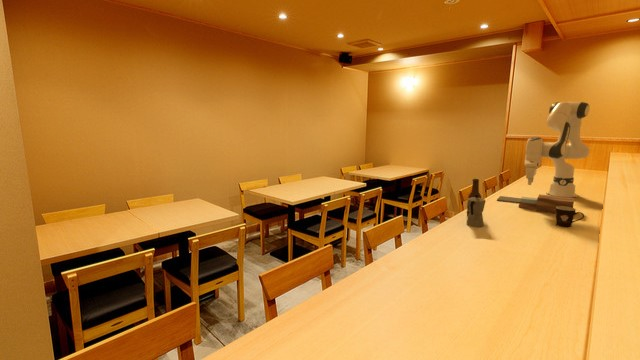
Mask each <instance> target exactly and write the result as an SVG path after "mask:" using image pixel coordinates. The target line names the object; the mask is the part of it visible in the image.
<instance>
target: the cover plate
mask: <svg viewBox="0 0 640 360" xmlns="http://www.w3.org/2000/svg"><path fill="white" fill-rule="evenodd" d="M537 198H538V197H527V196H521V202H524V203H532V204H537Z"/></svg>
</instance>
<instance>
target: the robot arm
mask: <svg viewBox="0 0 640 360" xmlns="http://www.w3.org/2000/svg"><path fill="white" fill-rule="evenodd" d="M548 114H549V115H548V117H547V119H546V125H547V127H548V128H550V129H551V130H553V131H556V132H558V133H559V134H558V137H557V141H555V142H552V141H551V142H546V141H544V140H543V139H542V137H539V136H535V137H529V138H528V139H527V141H526V145H525V156H524V163H523V164H524V167H525V177H526V179H527V185H530V186H532V183H533V182H534V179H535V178H534V177H535V176H536V174H537V169H539V167H540V166H541V165H542V164H541V163H542V158H549V159H550V160H551V161H552V163H553V164H554V176H553V180H552V182H551V183H550V184H549V190H547V192H546V193H545V195H550V196H560V197H570V198H579V196H578V194H576V184H575V183H574V181H575V178H574V173H575V166H573V165H572V164H571V163H568V162H566V159H567V160H579V159H586V158H587V157H588V156H589V155H590V153H591V152H590V151H591V150H590V147H589V146H588V144H585V143H584V142H583V140H582V138H581V126H582V120H583V119H584V118H586V117H587V116H588V114H590V104H588V102H584V101H582V102H580V101H561V102H560V101H557V102H553V103H552V104H551V105H550V107H549V111H548Z"/></svg>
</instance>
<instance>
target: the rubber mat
mask: <svg viewBox="0 0 640 360" xmlns="http://www.w3.org/2000/svg"><path fill="white" fill-rule="evenodd" d="M521 198H522V197H521ZM521 198H520V197H511V196H505V195H504V196H503V195H500V196H499V197H498V198H496V201H497V202H505V203H514V204H519V201H520V200H521Z"/></svg>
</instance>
